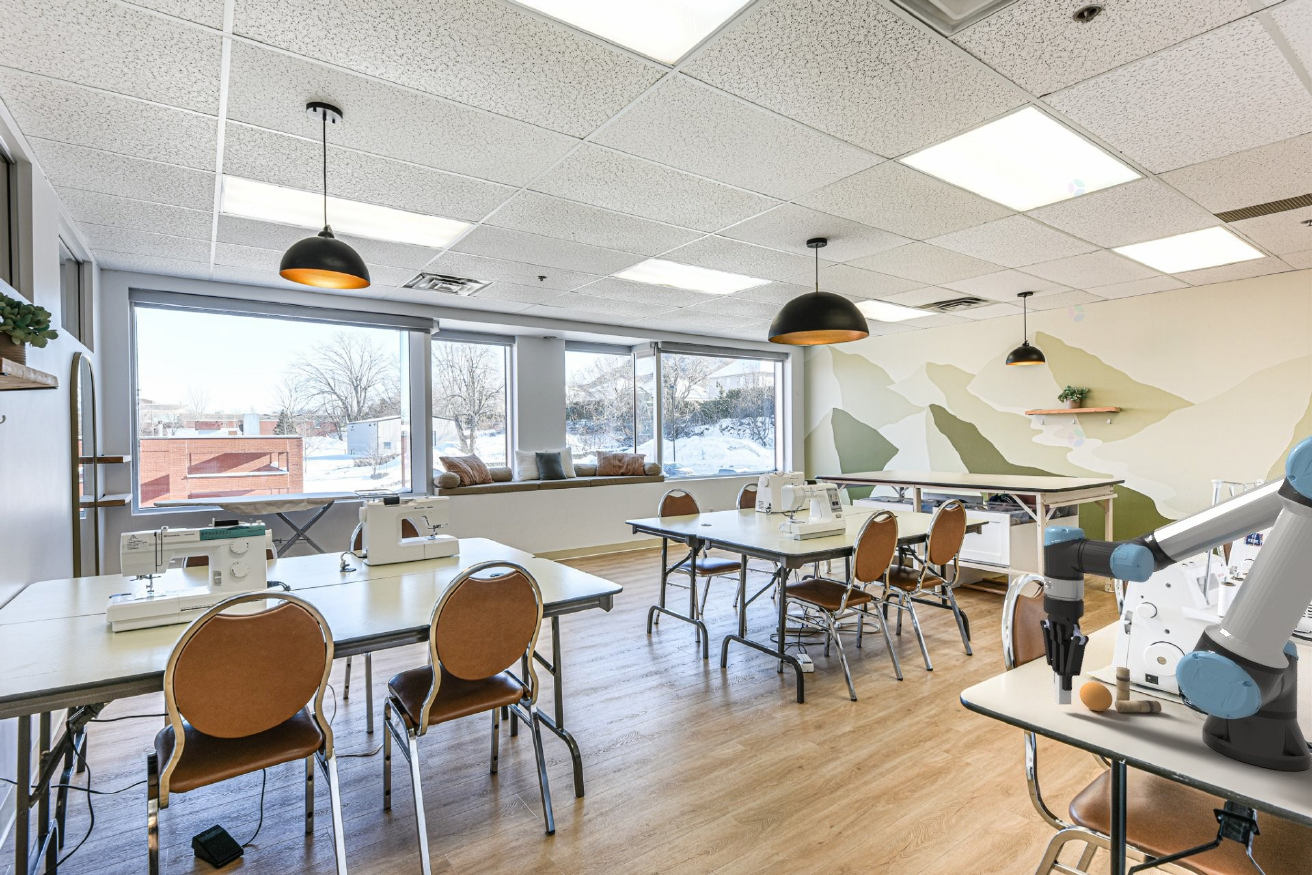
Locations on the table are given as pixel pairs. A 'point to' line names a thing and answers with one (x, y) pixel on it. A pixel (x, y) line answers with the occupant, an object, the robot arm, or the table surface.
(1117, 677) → the pin
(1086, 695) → the orange egg
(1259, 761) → the robot arm
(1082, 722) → the table surface
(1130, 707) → the pin
